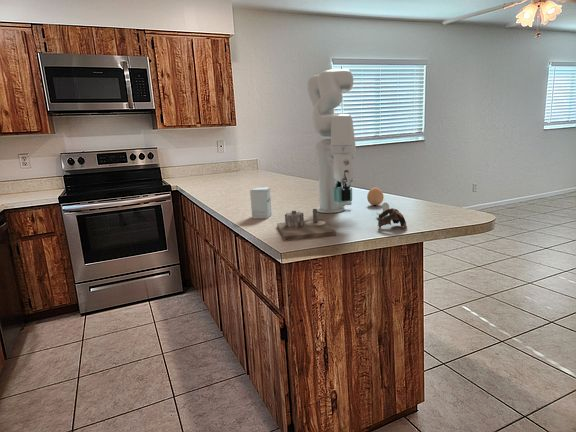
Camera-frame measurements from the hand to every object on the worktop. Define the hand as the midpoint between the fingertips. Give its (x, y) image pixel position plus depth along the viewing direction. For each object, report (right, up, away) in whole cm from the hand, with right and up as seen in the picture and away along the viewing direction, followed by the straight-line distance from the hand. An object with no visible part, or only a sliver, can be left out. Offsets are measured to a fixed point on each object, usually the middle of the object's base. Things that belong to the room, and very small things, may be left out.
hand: (342, 198), depth 146 cm
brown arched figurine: (+18, -11, -3) cm, 21 cm away
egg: (+20, -2, +37) cm, 42 cm away
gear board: (-14, -12, 0) cm, 19 cm away
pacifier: (+19, -8, +12) cm, 24 cm away
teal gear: (0, -1, 0) cm, 1 cm away
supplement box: (-32, -7, +28) cm, 43 cm away
